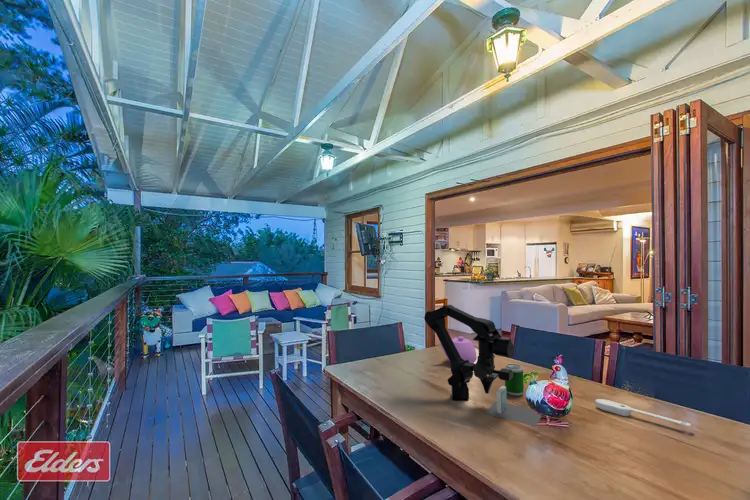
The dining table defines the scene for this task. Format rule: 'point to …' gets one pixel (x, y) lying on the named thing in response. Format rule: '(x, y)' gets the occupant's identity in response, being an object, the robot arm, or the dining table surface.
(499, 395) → the tile
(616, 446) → the dining table surface
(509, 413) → the mat
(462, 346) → the teapot
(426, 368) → the dining table surface
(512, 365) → the soda can
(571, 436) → the dining table surface
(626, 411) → the spatula
